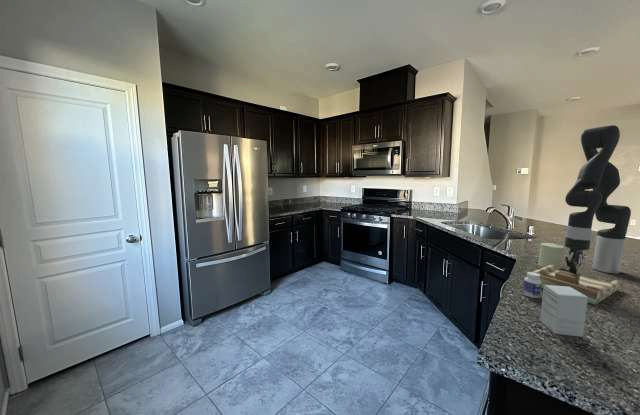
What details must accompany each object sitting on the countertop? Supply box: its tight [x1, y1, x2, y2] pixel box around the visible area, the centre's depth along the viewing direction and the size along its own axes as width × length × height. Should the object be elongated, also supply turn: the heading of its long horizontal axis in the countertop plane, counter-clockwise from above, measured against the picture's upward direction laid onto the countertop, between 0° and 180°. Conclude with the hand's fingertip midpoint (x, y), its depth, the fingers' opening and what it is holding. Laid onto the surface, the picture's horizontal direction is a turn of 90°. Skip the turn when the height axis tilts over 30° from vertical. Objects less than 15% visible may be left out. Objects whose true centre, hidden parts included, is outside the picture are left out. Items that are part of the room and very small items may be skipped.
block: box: [555, 269, 581, 285], centre depth 107 cm, size 6×6×4 cm
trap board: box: [525, 265, 620, 305], centre depth 109 cm, size 26×22×5 cm
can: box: [537, 242, 565, 270], centre depth 132 cm, size 9×9×12 cm
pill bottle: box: [522, 271, 542, 299], centre depth 100 cm, size 5×5×9 cm
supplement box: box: [539, 285, 588, 338], centre depth 78 cm, size 7×7×13 cm
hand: (572, 276), depth 109 cm, fingers closed
